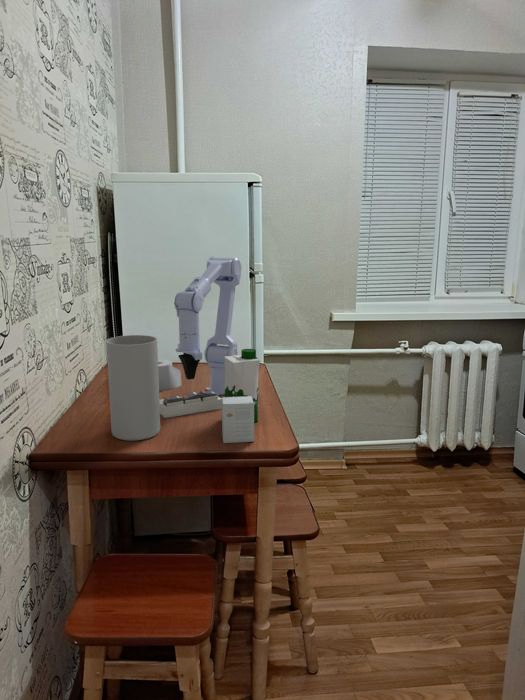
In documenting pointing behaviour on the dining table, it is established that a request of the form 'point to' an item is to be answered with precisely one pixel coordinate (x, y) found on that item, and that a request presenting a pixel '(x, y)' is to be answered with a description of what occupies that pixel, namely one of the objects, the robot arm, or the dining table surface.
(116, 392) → the cylinder vase
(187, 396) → the rocker
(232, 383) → the milk carton
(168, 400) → the rocker
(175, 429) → the dining table surface
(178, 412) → the switch panel
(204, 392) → the rocker
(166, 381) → the toilet tissue
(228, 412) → the small box
